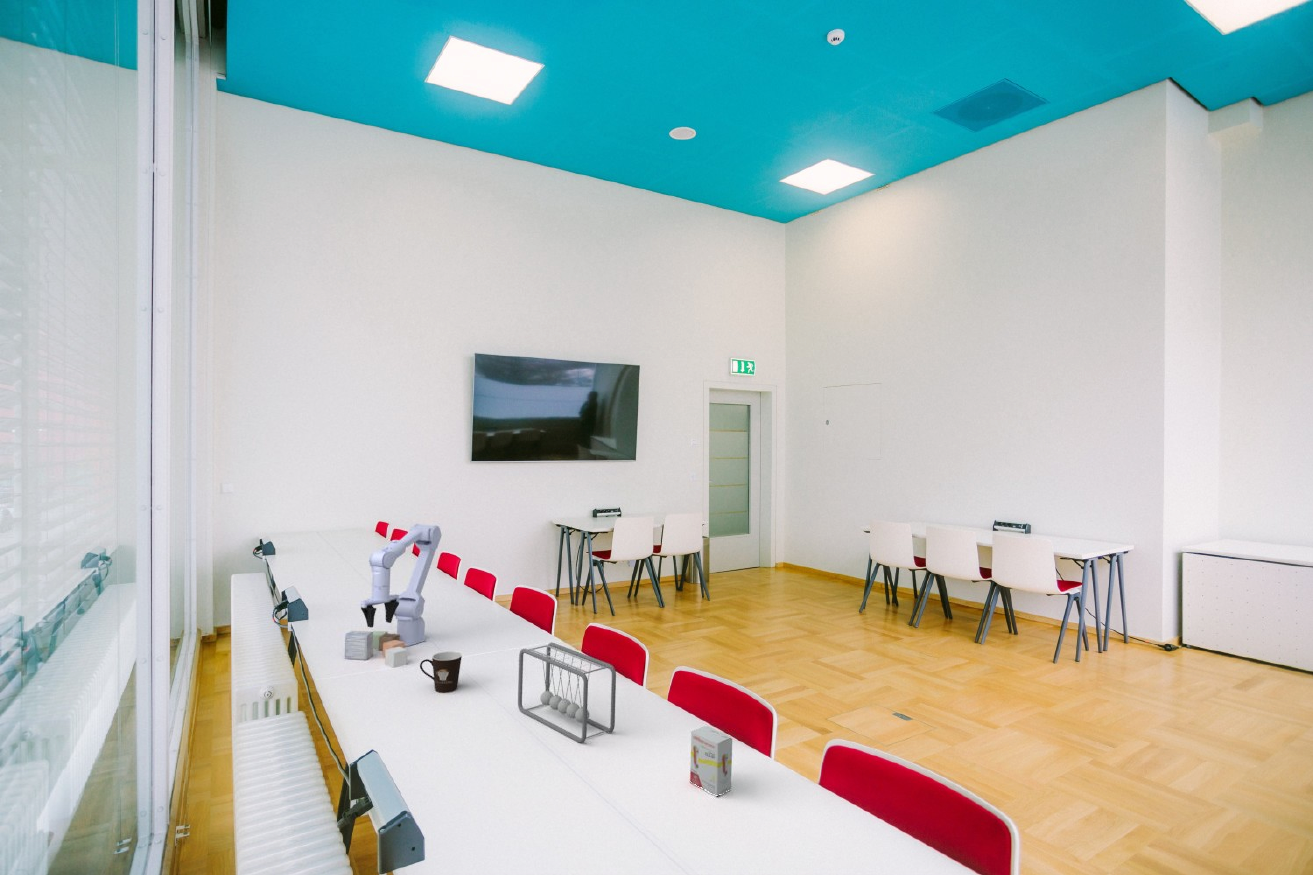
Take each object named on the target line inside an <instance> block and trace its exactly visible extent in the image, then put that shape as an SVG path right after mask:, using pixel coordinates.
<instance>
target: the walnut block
mask: <svg viewBox="0 0 1313 875" xmlns="http://www.w3.org/2000/svg"><path fill="white" fill-rule="evenodd" d="M393 640H398V641H400V634H397V633H389V632H387V634H385V635H383V636H380V637H379V649H378V651H379V652H383V643H386V642H389V641H393Z"/></svg>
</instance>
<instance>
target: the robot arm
mask: <svg viewBox="0 0 1313 875" xmlns="http://www.w3.org/2000/svg"><path fill="white" fill-rule="evenodd" d="M442 535H443V534H442V532H441V528H440V526H439V525H437V524H436V525H429V524H428V525H427V524H418V523H415V524H414V525H413V526H411V527H410V531H409V532H408V533H406V534H405V535H404V536H403V537H402V538H400V539H399V540H398V539H393V540H391V541H390V543H388V544H387V545H386V546H384V547H382V549H381V550H375V551H374V552H372V553H371V554H370V557H369V560H368V562H369V566H370V570H371V573H372V579H371V581H372V583H371V597H370V598H368V599H366V600H363V601H360V610H361V611H362V613H363V615H364V618H365V622H366V626H367V628H370V629H371V628H374V624H375V621H374V620H375V616H376V612H377V607H374V606H376V605H381V604H383V605H384V609H385V610H384V611H385V623H388V624H391V623H392V621H393V618H394V617H395V619H396V620H397V626H396V628H397V629H396V630H397V631H396V634H400V641H402V642H405V648H407V647H410V646H413V645H416V644H419V643H422V642H425V641H427V639H426V638H425V632H426V631H425V627H426V625H425V623H426V622H425V620H424V618H423V617H422V615H423V613H424V611H425V610H424V608H425V601H426V600H425V598H424V597H423V596H422V595H421V594H422V591H423V588H424V585H425V582H426V580H427V577H428V573H429V570H430V568H431V565H432V562H433V559H434V556H435V554H436V551H437V549H438V547H439V544H440V541H441V539H442ZM412 544H415V546H416V548H418V549H419V554H418V557H417V560H416V562H415V564H414V568H413V570H412V573H411V577H410V579H409V582H408V585H407V588H406V590H405V591H403V592H401V593H400V594H397V593H396V594H390V592H391V591H390V589H391V585H390V584H391V568H392V567H393V566H394V564H395V562H396V560H397V559H398V558H400V557H401V556H402V555H403V554H405V553H406V548H408V547H410V546H411V545H412Z"/></svg>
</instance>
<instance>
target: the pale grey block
mask: <svg viewBox="0 0 1313 875" xmlns="http://www.w3.org/2000/svg"><path fill="white" fill-rule="evenodd" d="M408 651H409V650H408V649H407V648H406V647H405V648H402V647H395V648H391V649H387V650H386V654H385V658H384V660H385V661H384V662H385V663H384V664H385V666H388V667H389V668H391V669H392V668H393V669H396V668H400V667H403V666H407V665H408V654H409V652H408Z"/></svg>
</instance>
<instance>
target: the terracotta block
mask: <svg viewBox="0 0 1313 875" xmlns="http://www.w3.org/2000/svg"><path fill="white" fill-rule="evenodd" d="M395 647H402V648H405V649H406V647H405V642H402V641H398V640H393V641H389V642H386V643H383V651H382V659H385V654H386V650H387V649H391V648H395Z"/></svg>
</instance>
